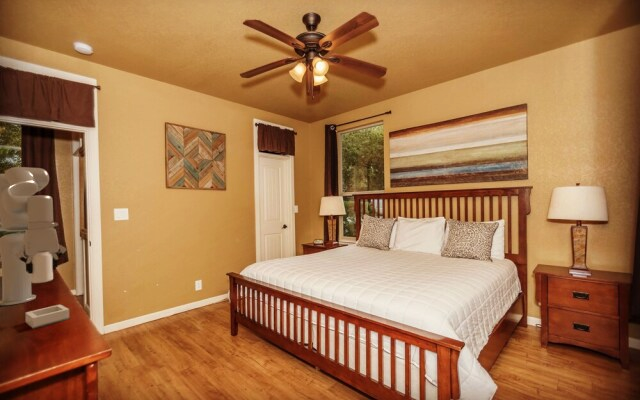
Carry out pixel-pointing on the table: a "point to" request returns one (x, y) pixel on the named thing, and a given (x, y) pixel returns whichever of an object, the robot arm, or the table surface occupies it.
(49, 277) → the can
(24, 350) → the table surface
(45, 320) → the dock socket
